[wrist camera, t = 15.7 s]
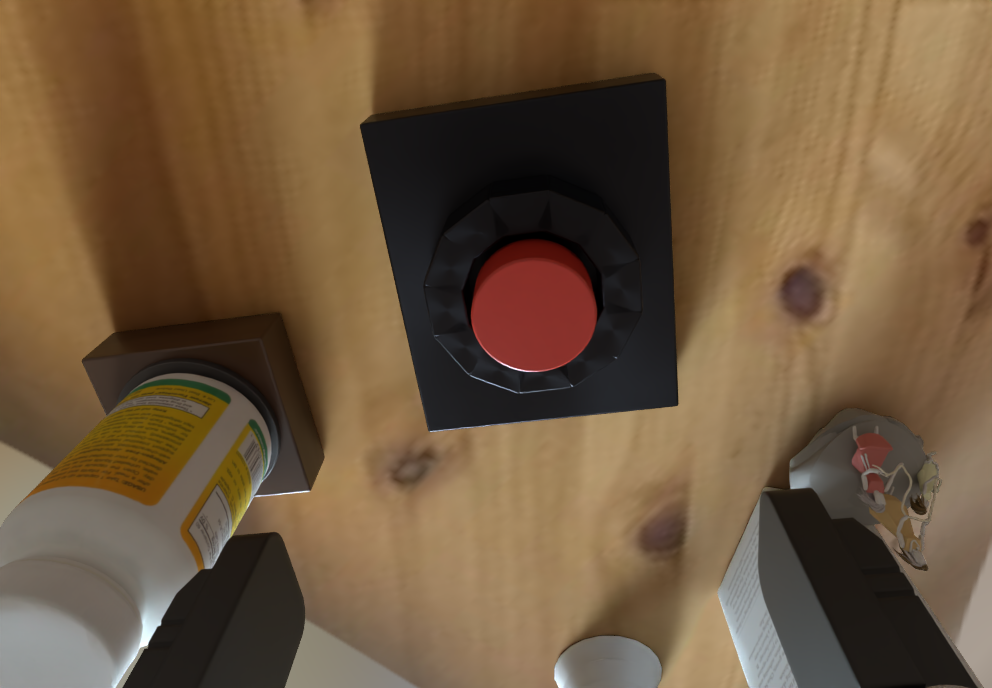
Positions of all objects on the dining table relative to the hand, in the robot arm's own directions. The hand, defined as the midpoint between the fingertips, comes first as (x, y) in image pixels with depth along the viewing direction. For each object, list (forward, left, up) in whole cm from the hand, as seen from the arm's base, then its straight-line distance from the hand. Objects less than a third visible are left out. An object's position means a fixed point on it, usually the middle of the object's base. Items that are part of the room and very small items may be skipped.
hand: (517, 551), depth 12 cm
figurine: (+9, +11, -14) cm, 21 cm away
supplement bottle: (+4, -12, -12) cm, 17 cm away
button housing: (0, 0, -14) cm, 14 cm away
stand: (+4, -12, -14) cm, 19 cm away
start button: (0, 0, -11) cm, 11 cm away
